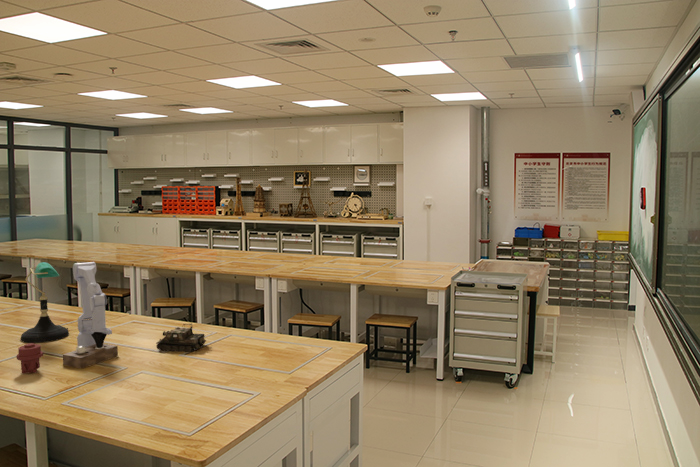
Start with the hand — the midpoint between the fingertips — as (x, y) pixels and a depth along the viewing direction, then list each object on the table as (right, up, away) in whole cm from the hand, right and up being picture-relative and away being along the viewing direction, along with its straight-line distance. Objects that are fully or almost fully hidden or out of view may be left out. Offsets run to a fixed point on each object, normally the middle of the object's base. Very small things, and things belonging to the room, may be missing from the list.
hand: (99, 347), depth 249 cm
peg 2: (0, -5, 0) cm, 5 cm away
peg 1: (-4, -2, -9) cm, 10 cm away
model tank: (+34, -4, +16) cm, 38 cm away
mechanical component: (-21, -7, -20) cm, 30 cm away
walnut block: (-2, -5, -4) cm, 7 cm away
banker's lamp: (-47, -2, +35) cm, 59 cm away
